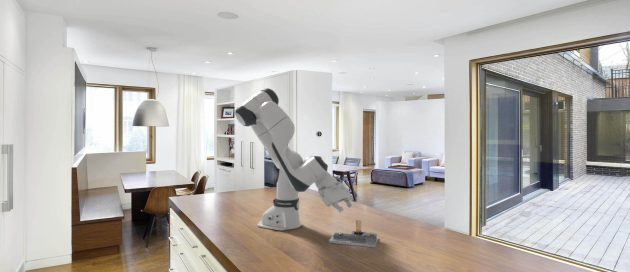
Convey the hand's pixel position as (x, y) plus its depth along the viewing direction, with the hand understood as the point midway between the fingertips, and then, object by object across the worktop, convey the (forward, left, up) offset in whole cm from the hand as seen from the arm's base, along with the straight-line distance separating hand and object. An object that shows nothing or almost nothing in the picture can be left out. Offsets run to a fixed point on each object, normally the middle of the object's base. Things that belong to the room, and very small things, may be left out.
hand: (346, 209), depth 153 cm
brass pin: (+6, -2, -12) cm, 14 cm away
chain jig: (+4, -2, -13) cm, 14 cm away
